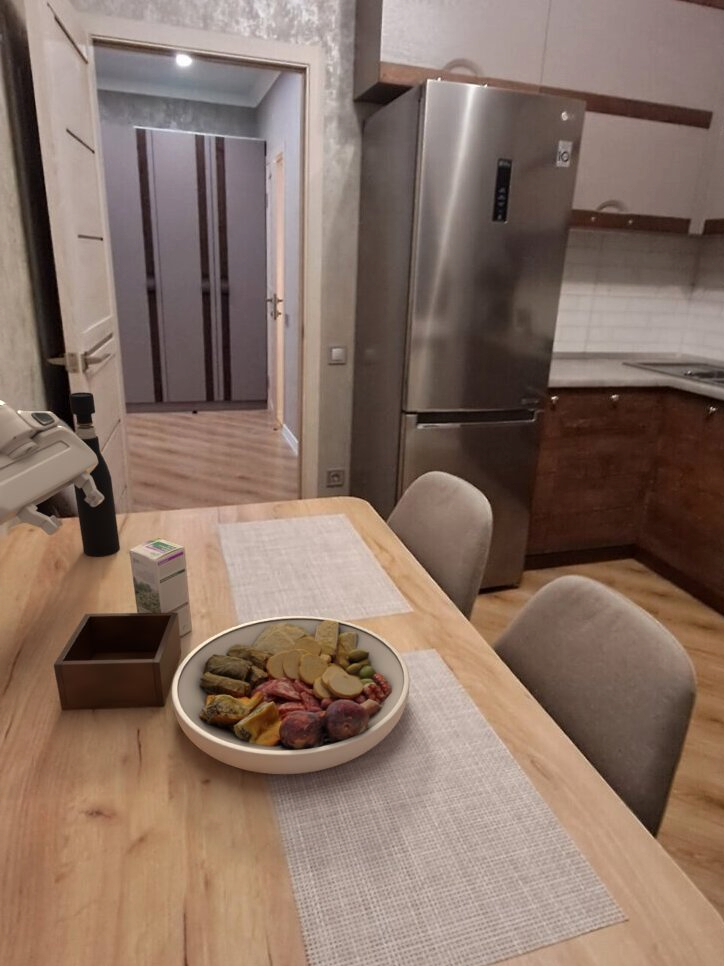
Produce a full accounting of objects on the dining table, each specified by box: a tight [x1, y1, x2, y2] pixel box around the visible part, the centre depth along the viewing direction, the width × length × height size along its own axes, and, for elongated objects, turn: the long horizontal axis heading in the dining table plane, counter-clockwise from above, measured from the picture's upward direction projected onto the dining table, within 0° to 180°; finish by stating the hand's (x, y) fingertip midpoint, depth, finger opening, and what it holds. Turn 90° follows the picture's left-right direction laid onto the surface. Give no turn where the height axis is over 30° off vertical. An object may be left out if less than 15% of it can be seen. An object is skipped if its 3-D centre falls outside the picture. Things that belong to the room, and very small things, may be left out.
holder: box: [53, 612, 182, 711], centre depth 90 cm, size 13×13×7 cm
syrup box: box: [128, 537, 193, 638], centre depth 100 cm, size 6×6×14 cm
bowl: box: [170, 615, 411, 775], centre depth 86 cm, size 30×30×8 cm
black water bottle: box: [68, 391, 121, 557], centre depth 123 cm, size 6×6×30 cm
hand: (79, 516), depth 93 cm, fingers open, 8 cm apart
